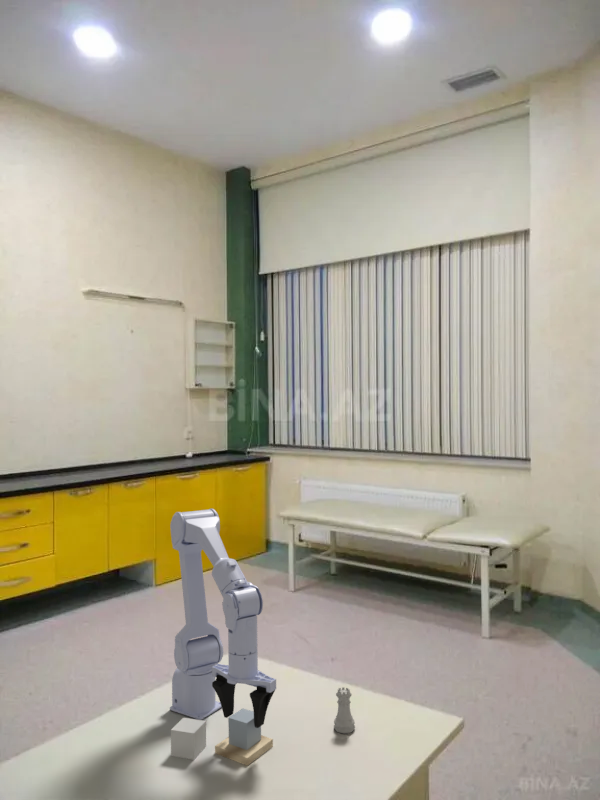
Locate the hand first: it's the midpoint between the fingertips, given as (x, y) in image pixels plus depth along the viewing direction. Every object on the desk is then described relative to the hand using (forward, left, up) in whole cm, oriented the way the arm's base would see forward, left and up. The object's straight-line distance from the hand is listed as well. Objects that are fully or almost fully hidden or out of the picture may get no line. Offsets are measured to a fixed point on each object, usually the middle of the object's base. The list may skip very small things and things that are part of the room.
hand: (243, 720), depth 118 cm
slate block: (0, 0, -4) cm, 4 cm away
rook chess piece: (+13, +17, -6) cm, 22 cm away
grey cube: (-9, -6, -6) cm, 12 cm away
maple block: (0, 0, -6) cm, 6 cm away
